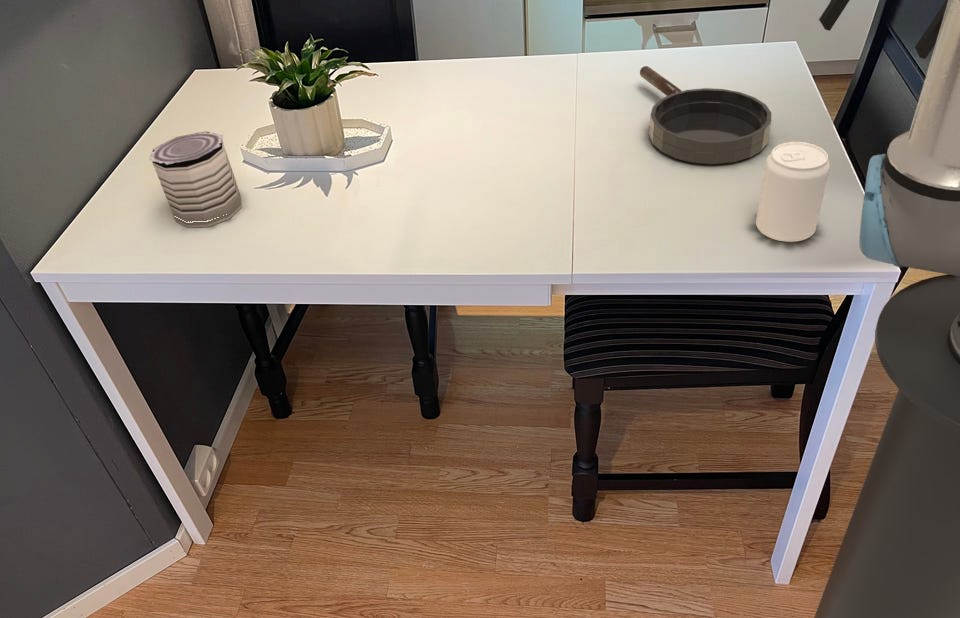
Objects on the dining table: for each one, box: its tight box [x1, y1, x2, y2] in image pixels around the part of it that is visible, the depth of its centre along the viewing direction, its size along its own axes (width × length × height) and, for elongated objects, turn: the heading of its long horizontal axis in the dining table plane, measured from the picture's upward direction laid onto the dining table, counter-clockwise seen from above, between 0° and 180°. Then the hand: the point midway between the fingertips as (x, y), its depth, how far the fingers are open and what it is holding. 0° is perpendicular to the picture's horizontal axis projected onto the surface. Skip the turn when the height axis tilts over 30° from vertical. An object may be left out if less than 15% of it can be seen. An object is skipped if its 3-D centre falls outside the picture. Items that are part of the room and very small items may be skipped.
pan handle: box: [639, 65, 682, 97], centre depth 144 cm, size 13×2×2 cm, turn 20°
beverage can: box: [755, 141, 831, 243], centre depth 109 cm, size 8×8×12 cm
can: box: [148, 130, 243, 229], centre depth 127 cm, size 11×11×12 cm
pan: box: [648, 87, 772, 165], centre depth 133 cm, size 19×19×4 cm
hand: (869, 38), depth 102 cm, fingers open, 13 cm apart
